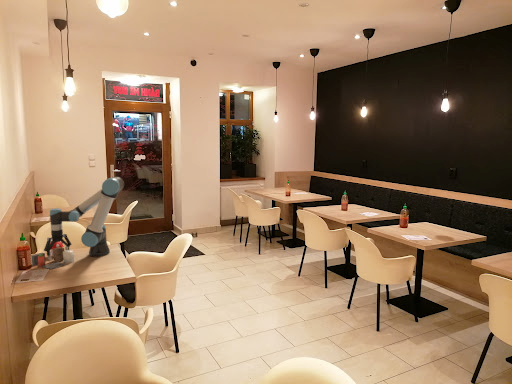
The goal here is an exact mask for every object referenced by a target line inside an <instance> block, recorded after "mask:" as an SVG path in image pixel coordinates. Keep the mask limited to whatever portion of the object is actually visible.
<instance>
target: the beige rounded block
mask: <svg viewBox="0 0 512 384" xmlns="http://www.w3.org/2000/svg"><path fill="white" fill-rule="evenodd" d="M74 262H75V255H74V250H73V249H69V250H66V251H65V250H64V251H63V264H72V263H74Z"/></svg>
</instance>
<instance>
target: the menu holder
mask: <svg viewBox="0 0 512 384" xmlns="http://www.w3.org/2000/svg"><path fill="white" fill-rule="evenodd" d="M39 254H43V256H44V260H45V261H46V254H45V252H39V253H36V254H32V255H31V256H30V257H31V265H32V266H39V265H38V256H39Z"/></svg>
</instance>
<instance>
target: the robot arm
mask: <svg viewBox="0 0 512 384" xmlns="http://www.w3.org/2000/svg"><path fill="white" fill-rule="evenodd" d="M101 184H102V185H101V189H100V190H98V191H96V192H95V193H94V194H93V195H91V196H89V197H88V198H86V200H84V201H83V202H82V203H80V204H78V205H77V206H76V207H74V208H73V209H71V210H69V211H66V210H65V211H62V209H61V208H52V209H50V210H49V219H50V220H49V221H50V230H51V231H50V233H51V234H50V235H51V237H47V238H46V239H47V241H46V244H45V246H44V248H43V251H44V252H46V256H47V257H48V261H52V259H53V257H52V254H51V248H52V247H53V245H54V244H55V243H56V242H62V243H63V245H64V251H66V250H70V247H71V246H72V243H71V241H70V239H69V237H68V234H66V233H63V232H64V231H63V222H64V223H65V222H68V223H69V222H72V223H74V222H78V221H79V220H80V218H81V217H83V216H84V215H85V214H86V213H88V212H89V211H90V210H91V209H93V208H94V207H96V206H97V208H96V209H95V212H94V215H93V217H92V219H91V223H90V224H88V225H87V227H86V229H85V231H84V233H83V234H82V235H81V237H80V238H81V239H80V240H81V243H82V244H83V245H84V246H85V247H88V248H89V250H88V256H89V257H103V256H107V255H108V254H110V251H111V249H110V247H109V245H108V243H107V242H108V241H107V228H106V225H105V223H106V220H107V217H108V214H109V212H110V210H111V207H112V205H113V202H114V201H115V200H116V199H117V198H118V196H119V194H120V192H121V191H122V190H123V189H124V187H125V181H124V180H123V178H121V177H120V176H112V177H109V178H106V179H105V180H104V181H103V182H102V183H101ZM63 238H64V239H63ZM50 242H51V244H50Z"/></svg>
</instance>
